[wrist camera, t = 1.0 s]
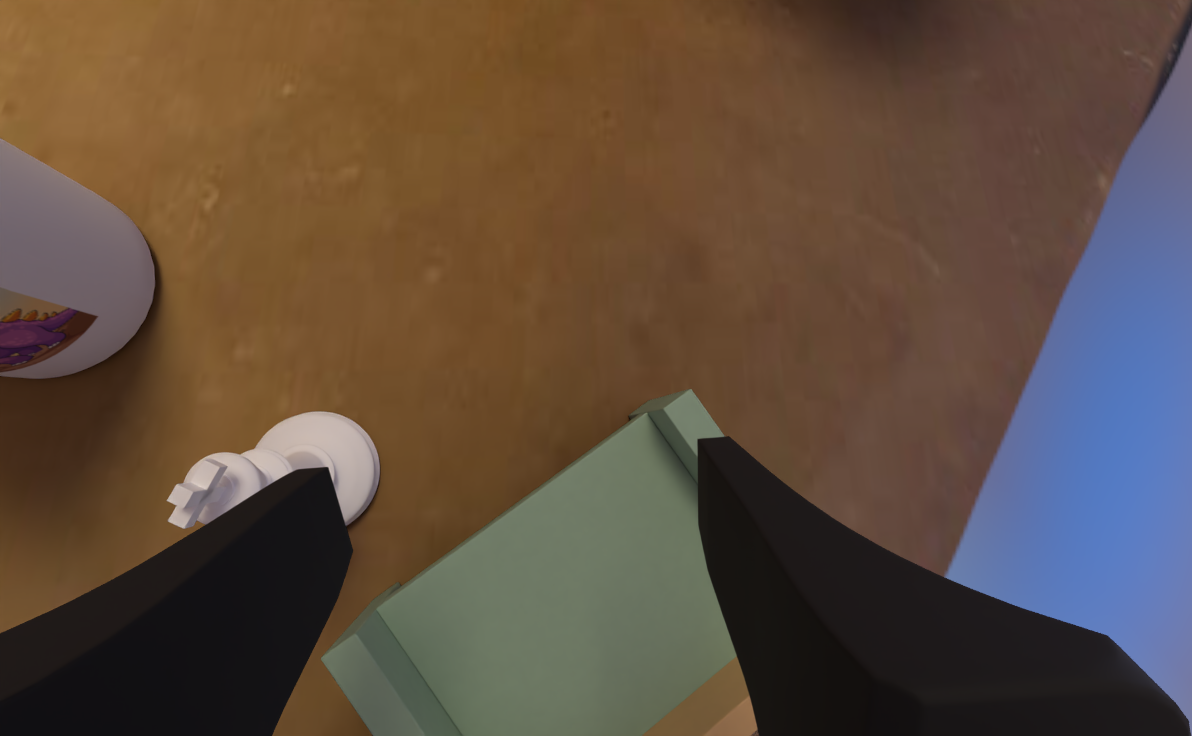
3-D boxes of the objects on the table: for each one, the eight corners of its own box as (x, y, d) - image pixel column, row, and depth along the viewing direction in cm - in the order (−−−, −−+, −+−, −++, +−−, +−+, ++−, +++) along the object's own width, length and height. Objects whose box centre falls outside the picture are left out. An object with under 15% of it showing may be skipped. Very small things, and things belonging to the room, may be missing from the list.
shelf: (515, 807, 24) (513, 943, 17) (372, 599, 24) (319, 659, 18) (781, 587, 26) (866, 636, 20) (649, 400, 26) (691, 388, 20)
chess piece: (401, 444, 25) (325, 448, 15) (342, 555, 24) (220, 636, 14) (292, 391, 25) (140, 360, 15) (228, 502, 24) (23, 548, 14)
